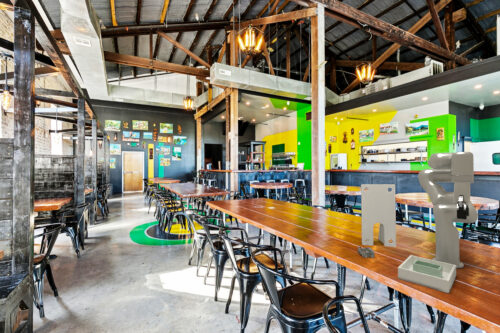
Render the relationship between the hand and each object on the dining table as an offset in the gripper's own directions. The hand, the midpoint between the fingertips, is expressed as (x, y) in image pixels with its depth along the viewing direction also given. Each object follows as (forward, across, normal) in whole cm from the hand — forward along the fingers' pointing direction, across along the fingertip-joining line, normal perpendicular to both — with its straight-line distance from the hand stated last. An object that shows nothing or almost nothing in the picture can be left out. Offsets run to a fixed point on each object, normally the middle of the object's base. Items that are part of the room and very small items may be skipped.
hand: (463, 217), depth 106 cm
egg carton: (+29, -2, -43) cm, 52 cm away
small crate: (+28, +8, -12) cm, 31 cm away
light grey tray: (+28, +8, -12) cm, 32 cm away
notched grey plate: (+29, -29, -47) cm, 62 cm away
